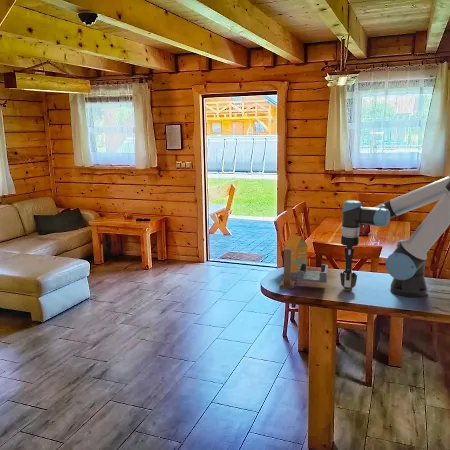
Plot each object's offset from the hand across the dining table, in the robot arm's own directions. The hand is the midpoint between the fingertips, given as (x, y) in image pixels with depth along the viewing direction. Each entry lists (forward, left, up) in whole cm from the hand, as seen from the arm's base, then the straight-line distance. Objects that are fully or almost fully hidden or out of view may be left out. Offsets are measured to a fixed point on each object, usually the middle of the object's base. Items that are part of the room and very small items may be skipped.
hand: (347, 281), depth 200 cm
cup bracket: (+20, -1, -4) cm, 20 cm away
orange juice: (+26, -21, -5) cm, 33 cm away
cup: (0, 0, -5) cm, 4 cm away
